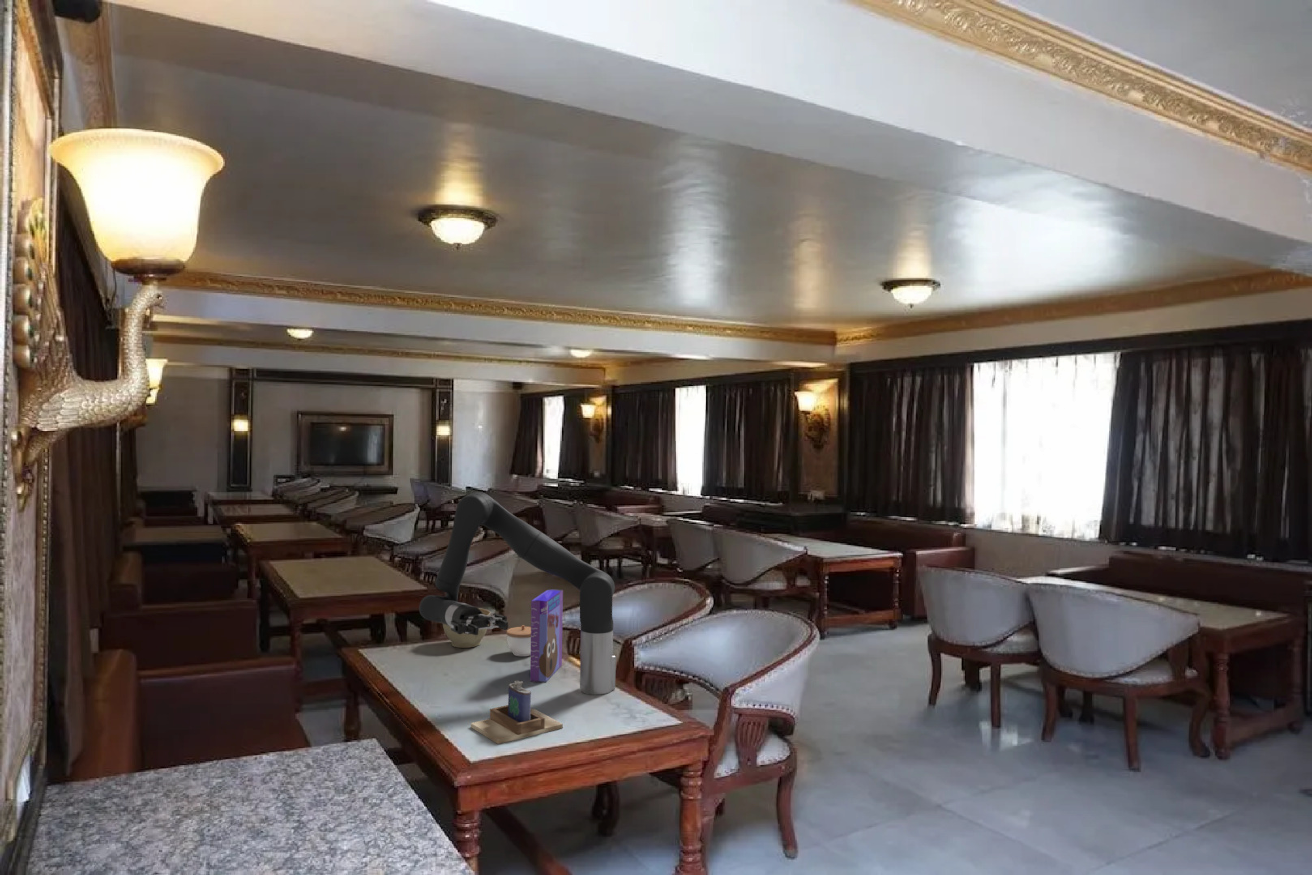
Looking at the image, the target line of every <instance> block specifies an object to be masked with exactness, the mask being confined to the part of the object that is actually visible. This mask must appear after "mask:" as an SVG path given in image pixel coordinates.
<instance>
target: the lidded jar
mask: <svg viewBox="0 0 1312 875" xmlns="http://www.w3.org/2000/svg"><path fill="white" fill-rule="evenodd" d="M506 644H507V647H508V649H509V651H510V652H511V653H513V655H514V656H515V657H530V656H531V626H525V624H522V625H521V626H515V627H511V628H508V629H507V630H506Z"/></svg>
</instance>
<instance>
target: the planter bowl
mask: <svg viewBox="0 0 1312 875" xmlns="http://www.w3.org/2000/svg"><path fill="white" fill-rule="evenodd" d="M477 608H478V609H480V610H481V612H482V613H483V614H485V615H491V611H490V610H488V609H485V608H481V607H477ZM488 626H490V623H489V624H488ZM442 627H443V628H442V629H443V630H444V633H445V635H446V636H447V639H448V640H449V641H450V643H451V646H452V647H454V648H460V649H467V648H473V647H474V648H475V647H478V646H479V645H481V643H482V639H483V638H484V637H485V636H486V633H487V631H488V629H482V630H481V629H479V630H478V635H473V634H465V633H463V634H457V633H455V632H453V631H451V627H450V626H448V625H446V624H444V623H442Z"/></svg>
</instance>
